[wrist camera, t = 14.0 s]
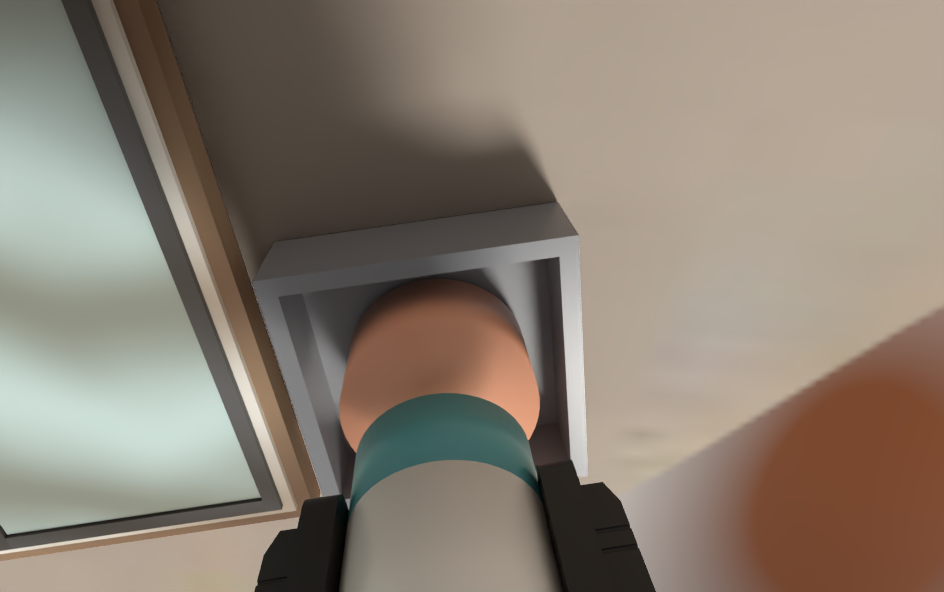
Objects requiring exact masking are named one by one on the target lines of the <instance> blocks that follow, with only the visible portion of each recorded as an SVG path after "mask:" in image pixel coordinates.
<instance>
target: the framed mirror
mask: <svg viewBox="0 0 944 592" xmlns="http://www.w3.org/2000/svg"><path fill="white" fill-rule="evenodd" d="M319 497H320V489H319V486H318V483H317V480H316V477H315V474H314V471H313V468H312V465H311V462H310V459H309V456H308V453H307V450H306V448H305V445H304V442H303V439H302V436H301V433H300V430H299V427H298V424H297V421H296V418H295V415H294V412H293V409H292V406H291V403H290V400H289V397H288V394H287V391H286V388H285V385H284V382H283V379H282V376H281V373H280V370H279V367H278V364H277V361H276V358H275V355H274V352H273V349H272V346H271V343H270V340H269V337H268V334H267V331H266V328H265V325H264V322H263V319H262V316H261V313H260V310H259V307H258V304H257V301H256V298H255V295H254V292H253V289H252V286H251V283H250V280H249V277H248V274H247V271H246V268H245V265H244V262H243V259H242V256H241V253H240V250H239V247H238V244H237V241H236V238H235V235H234V232H233V229H232V226H231V223H230V220H229V217H228V214H227V211H226V208H225V205H224V202H223V199H222V196H221V193H220V190H219V187H218V184H217V181H216V178H215V175H214V172H213V169H212V166H211V163H210V160H209V157H208V154H207V151H206V148H205V145H204V142H203V139H202V136H201V133H200V130H199V127H198V124H197V121H196V118H195V115H194V112H193V109H192V106H191V103H190V100H189V97H188V94H187V91H186V88H185V85H184V82H183V79H182V76H181V73H180V70H179V67H178V64H177V61H176V58H175V55H174V52H173V49H172V46H171V43H170V40H169V37H168V34H167V31H166V28H165V25H164V22H163V19H162V16H161V13H160V10H159V7H158V4H157V1H156V0H0V561H3V560H10V559H16V558H23V557H30V556H37V555H44V554H50V553H57V552H64V551H71V550H77V549H84V548H91V547H98V546H105V545H111V544H118V543H125V542H132V541H139V540H145V539H152V538H159V537H166V536H172V535H179V534H186V533H193V532H200V531H206V530H213V529H220V528H227V527H234V526H240V525H247V524H254V523H261V522H267V521H274V520H281V519H288V518H295V517H300V514H301V509H302V505H303V502H304V501H305V500H306V499H313V498H319Z"/></svg>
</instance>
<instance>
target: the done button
mask: <svg viewBox="0 0 944 592" xmlns="http://www.w3.org/2000/svg"><path fill="white" fill-rule="evenodd" d="M438 393H458V394H467V395H471V396H476V397H479V398H482V399H485V400H488V401H490V402H492V403H494V404H496V405H498V406H500V407H501V408H503V409H504V410H506V411H507V412H508V413H510V414H511V415H512V416H513V417H514V418H515V419H516V420H517V421H518V423H519V424H520V425H521V427H522V428H523V430H524V432H525V433H526V436H527V439H528V440H529V439H530V437H531V435H532V433H533V431H534V429H535V427H536V423H537V420H538V416H539V410H540V397H539V391H538V386H537V383H536V379H535V376H534V372H533V369H532V365H531V362H530V359H529V355H528V352H527V348H526V345H525V341H524V338H523V335H522V332H521V329H520V326H519V324H518V322H517V320H516V318H515V316H514V315H513V314H512V312H511V311H510V310H509V308H508V307H507V306H506V305H505V304H504V303H503V302H502V301H501V300H499V299H498V298H497V297H496V296H494V295H493V294H491V293H490V292H488V291H486V290H484V289H483V288H480V287H478V286H476V285H473V284H470V283H466V282H463V281H458V280H452V279H427V280H420V281H416V282H411V283H408V284H405V285H402V286H400V287H398V288H396V289H394V290H391V291H390V292H388V293H386V294H385V295H383V296H382V297H380V298H379V299H378V300H377V301H375V302H374V303H373V304H372V305H371V306H370V307H369V308H368V309H367V310H366V312H365V313H364V314H363V316H362V317H361V319H360V320H359V322H358V324H357V326H356V328H355V330H354V333H353V336H352V339H351V344H350V349H349V354H348V360H347V365H346V370H345V375H344V380H343V386H342V391H341V396H340V404H339V415H340V421H341V426H342V429H343V432H344V434H345V437H346V439H347V440H348V442H349V444H350V446H351V447H352V448H353V450H354V451H355V452H357V448H358V445H359V442H360V440H361V438H362V436H363V435H364V433H365V431H366V430H367V429H368V427H369V426H370V425H371V424H372V423H373V422H374V421H375V420H376V419H377V418H378V417H379V416H380V415H382V414H383V413H384V412H386V411H387V410H389V409H390V408H392V407H394V406H396V405H398V404H400V403H402V402H404V401H407V400H410V399H413V398H416V397H419V396H424V395H429V394H438Z"/></svg>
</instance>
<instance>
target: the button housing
mask: <svg viewBox="0 0 944 592" xmlns="http://www.w3.org/2000/svg"><path fill="white" fill-rule="evenodd" d="M427 279H452V280H458V281H463V282H466V283H470V284H473V285H476V286H478V287H480V288H483V289H484V290H486V291H488V292H490V293H491V294H493V295H494V296H496V297H497V298H498V299H499V300H501V301H502V302H503V303H504V304H505V305H506V306H507V307H508V308H509V310H510V311H511V312H512V314H513V315H514V316H515V318H516V320H517V322H518V324H519V326H520V329H521V332H522V335H523V338H524V341H525V345H526V348H527V352H528V355H529V359H530V362H531V365H532V369H533V372H534V376H535V379H536V383H537V386H538V391H539V397H540V410H539V416H538V420H537V423H536V427H535V429H534V431H533V433H532V435H531V437H530V439H529V440H528V441H529V445H530V449H531V454H532V458H533V462H534V466H535V470H536V465H538V464H545V463H552V462H558V461H565V460H572V461H573V464H574V466H575V469H576V472H577V476H578V477H583V476H588V465H587V439H586V413H585V386H584V360H583V333H582V307H581V280H580V254H579V235H578V233H577V232H576V230H575V228H574V227H573V225H572V224H571V222H570V220H569V219H568V217H567V216H566V214H565V213H564V211H563V209H562V208H561V206H560V205H559V203H558V202H553V203H546V204H539V205H532V206H525V207H518V208H511V209H504V210H497V211H489V212H482V213H475V214H468V215H461V216H454V217H447V218H440V219H433V220H426V221H419V222H412V223H405V224H398V225H391V226H384V227H376V228H369V229H362V230H355V231H348V232H341V233H334V234H327V235H320V236H313V237H306V238H299V239H292V240H285V241H278V242H274V243H273V245H272V247H271V249H270V250H269V252H268V254H267V256H266V258H265V259H264V261H263V263H262V265H261V266H260V268H259V270H258V272H257V273H256V275H255V277H254V279H253V281H252V284H253V287H254V290H255V293H256V296H257V299H258V302H259V305H260V308H261V311H262V314H263V317H264V320H265V323H266V326H267V329H268V332H269V335H270V338H271V341H272V344H273V347H274V350H275V353H276V356H277V359H278V362H279V365H280V368H281V371H282V374H283V377H284V380H285V383H286V386H287V389H288V392H289V395H290V398H291V401H292V404H293V407H294V410H295V413H296V416H297V419H298V422H299V425H300V428H301V431H302V434H303V437H304V440H305V443H306V446H307V449H308V452H309V455H310V458H311V461H312V464H313V467H314V470H315V473H316V476H317V479H318V482H319V485H320V488H321V491H322V494H323V497H326V496H332V495H339V494H342V495H343V496H344V498H345V500H346V503H347V506H348V509H349V506H350V498H351V490H352V482H353V474H354V466H355V459H356V452H355V451H354V450H353V448H352V447H351V446H350V444H349V442H348V440H347V439H346V437H345V434H344V432H343V429H342V426H341V421H340V415H339V404H340V396H341V391H342V386H343V380H344V375H345V370H346V365H347V360H348V354H349V349H350V344H351V339H352V336H353V333H354V330H355V328H356V326H357V324H358V322H359V320H360V319H361V317H362V316H363V314H364V313H365V312H366V310H367V309H368V308H369V307H370V306H371V305H372V304H373V303H374V302H375V301H377V300H378V299H379V298H380V297H382V296H383V295H385V294H386V293H388V292H390V291H391V290H394V289H396V288H398V287H400V286H402V285H405V284H408V283H411V282H416V281H420V280H427ZM536 474H537V470H536Z"/></svg>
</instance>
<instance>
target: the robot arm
mask: <svg viewBox="0 0 944 592" xmlns="http://www.w3.org/2000/svg"><path fill="white" fill-rule="evenodd" d="M536 470H537V481H538V486H539V490H540V495H541V499H542V503H543V507H544V511H545V515H546V519H547V524H548V528H549V532H550V536H551V540H552V544H553V549H554V553H555V557H556V561H557V565H558V569H559V573H560V578H561V582H562V586H563V590H564V592H656V591H655V588H654V586H653V583H652V581H651V578H650V575H649V573H648V570H647V568H646V565H645V563H644V560H643V557H642V555H641V552H640V550H639V548H638V546H637V542H636V540H635V537H634V534H633V532H632V529H631V528H630V524H629V521H628V519H627V516H626V514H625V511H624V509H623V506H622V503H621V501H620V500H619V499H618V498H617V497H616V496H615V495H614V494H613V493H612V491H611V490H610V489H609V488H608V487H607V486H606V485H605V484H604V483H603V482H600V483H593V484H587V485H580V482H579V479H578V476H577V472H576V469H575V466H574V464H573V461H572V460H565V461H558V462H552V463H545V464H538V465H536ZM348 514H349V509H348V506H347V503H346V500H345V498H344V496H343V495H342V494H339V495H332V496H326V497H319V498H313V499H306V500H305V501H304V502H303V505H302V509H301V514H300V518H299V523H298V528H297V529H290V530H284V531H280V532H279V534H278V535H277V537H276V538H275V540H274V541H273V542H272V544H271V545H270V547H269V548H268V550H267V551H266V553H265V554H264V557H263V561H262V565H261V569H260V572H259V576H258V580H257V582H258V585H257V586H256V588H255V592H339V585H340V577H341V569H342V561H343V554H344V546H345V538H346V530H347V522H348Z"/></svg>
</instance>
